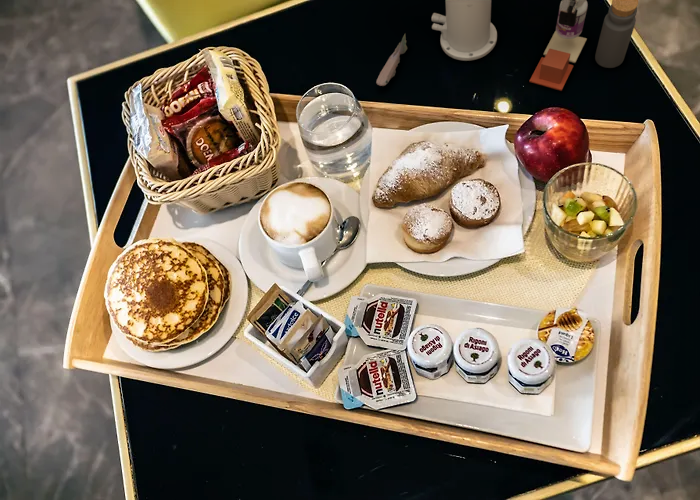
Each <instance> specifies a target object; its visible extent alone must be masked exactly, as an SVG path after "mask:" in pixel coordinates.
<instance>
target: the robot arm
mask: <svg viewBox="0 0 700 500" xmlns="http://www.w3.org/2000/svg"><path fill="white" fill-rule="evenodd" d="M561 1H562V0H561ZM572 1H574V5H573V6H570V2H571V0H563V1H562V5H561V9H560V16H559V24H562V25H567V26H571V27H574V25H575V22H576V16H577V11H578V10H576V8H577V4H578V2H579V1H580V0H572ZM444 2H445V15H444V14H440V13H437V12H433V13H432V14H431V22H433V23H432V25H431V29H432V30H434V31H439V32H440V33H441V34H440V38H439V39H440V40H439V41H440V46H441V49H442V51H443V52H444V53H445V54H446V56H448V57H450V58H452V59H454V60H457V61H464V62H467V61H469V62H470V61H475V60H479V59H481V58H483V57H486V56H487V55H488V54H489V53H490V52H491V51H493V50H494V48H495V46H496V44H497V42H498V31H497V29H496V26H495V25H494V24H493V23H492V22H491V19H492V0H445V1H444Z"/></svg>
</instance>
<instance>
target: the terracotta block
mask: <svg viewBox="0 0 700 500" xmlns="http://www.w3.org/2000/svg"><path fill="white" fill-rule="evenodd" d="M543 58H544V60H543V62H542V64H541V70H540V77H539V79H543V80H546V81H550V82H553V83H557V84H560V83H561V81H562V79H563V77H564V75H565V73H566V71H567V69H568V64H570V62H569V59H570V53H566V52H562V51H558V50H554V49H550V48H549V50H548V52H547V54H546V55H544V57H543Z"/></svg>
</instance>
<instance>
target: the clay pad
mask: <svg viewBox="0 0 700 500" xmlns="http://www.w3.org/2000/svg"><path fill="white" fill-rule="evenodd" d="M544 58H545V57H543V56H542V57H541V58H540V60H539V62H538V64H537V66H536V67H535V70H534V71H533V73H532V75H531V77H530V79H529V83H532V84H535V85H539V86H541V87H546V88H549V89H552V90H557V91H560V92H562V91H563V89H564V87H565V84H566V83H567V81H568V79H569V76H570V74H571V72H572V71H573V68H574V65H573V64H570V63H569V64H568V69H567V71H566V73H565V75H564V77H563V79H562V81H561V83H560V84H557V83H553V82H550V81H546V80H543V79H539V77H540V70H541V64H542V62H543V60H544Z"/></svg>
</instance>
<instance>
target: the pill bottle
mask: <svg viewBox="0 0 700 500" xmlns="http://www.w3.org/2000/svg"><path fill="white" fill-rule="evenodd" d="M562 1H563V0H561V1H560V3H559V7H558V13H557V19H556V25H555V31H556V32H557V34H558V35H559V36H560V37H562V38H564V39H573V38H576V37H578V36H579V37H580V35H581V34H582V32H583V29H584V24H585V19H586V15H587V12H588V7H589V6H588V5H589V4H588V1H587V0H580V1H579V2H578V4H577V8H576V10H578V11H577V16H576V22H575V25H574V27H571V26H567V25H562V24H559V16H560V9H561V5H562ZM573 5H574V1H572V0H571V2H570V6H573Z"/></svg>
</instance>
